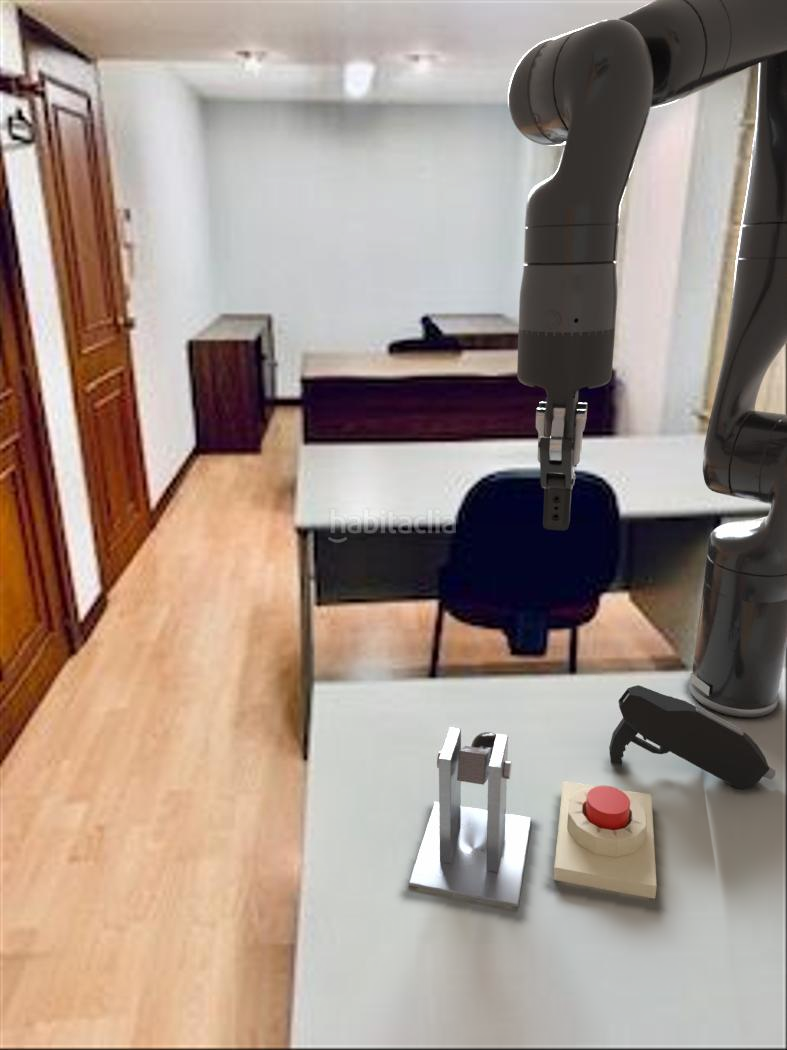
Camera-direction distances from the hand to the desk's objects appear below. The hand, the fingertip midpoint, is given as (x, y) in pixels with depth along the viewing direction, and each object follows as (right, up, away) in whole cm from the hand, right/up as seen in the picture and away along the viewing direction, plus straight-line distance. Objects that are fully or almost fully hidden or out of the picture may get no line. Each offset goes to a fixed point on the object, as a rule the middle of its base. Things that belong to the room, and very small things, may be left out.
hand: (556, 526), depth 66 cm
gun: (+15, -25, +9) cm, 31 cm away
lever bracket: (-7, -29, 0) cm, 30 cm away
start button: (+4, -25, -1) cm, 25 cm away
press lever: (-7, -22, +1) cm, 23 cm away
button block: (+4, -28, +1) cm, 29 cm away
